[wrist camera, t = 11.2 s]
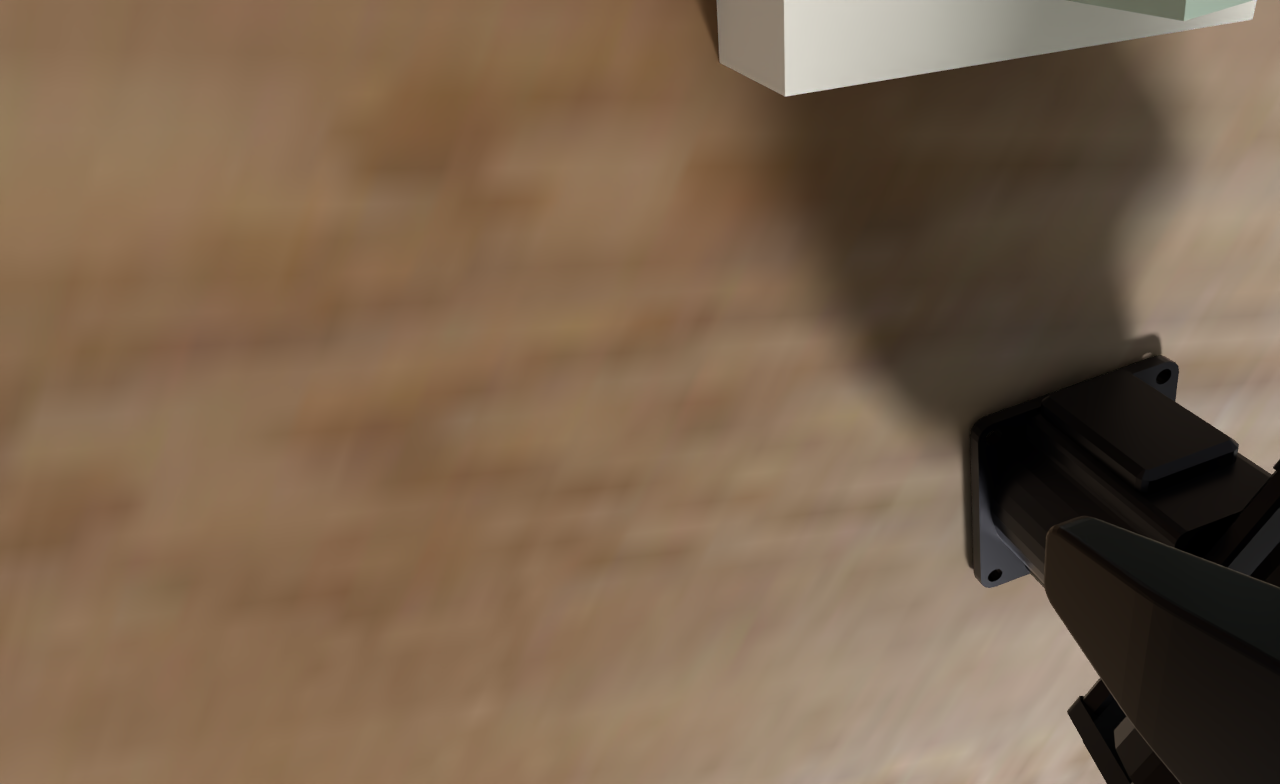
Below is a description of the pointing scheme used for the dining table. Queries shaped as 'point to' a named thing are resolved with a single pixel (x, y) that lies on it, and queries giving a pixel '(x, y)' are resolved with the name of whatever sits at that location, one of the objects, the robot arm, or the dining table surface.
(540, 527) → the dining table surface
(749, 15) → the cream block
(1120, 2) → the green cube
